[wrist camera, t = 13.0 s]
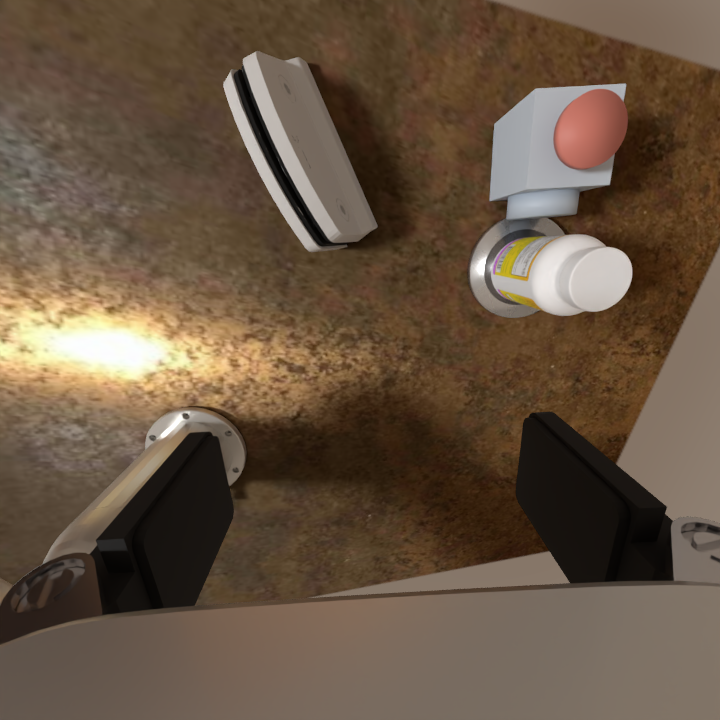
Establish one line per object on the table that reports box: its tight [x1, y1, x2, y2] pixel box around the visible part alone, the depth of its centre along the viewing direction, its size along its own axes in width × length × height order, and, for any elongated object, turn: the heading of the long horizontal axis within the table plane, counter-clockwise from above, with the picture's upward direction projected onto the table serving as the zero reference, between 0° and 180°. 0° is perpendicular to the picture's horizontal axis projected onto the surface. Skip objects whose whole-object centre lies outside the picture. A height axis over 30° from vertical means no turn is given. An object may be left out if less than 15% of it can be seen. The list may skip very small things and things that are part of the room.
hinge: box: [223, 51, 378, 252], centre depth 31 cm, size 17×5×10 cm, turn 26°
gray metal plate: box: [468, 218, 565, 318], centre depth 38 cm, size 11×11×1 cm
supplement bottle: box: [491, 234, 632, 316], centre depth 31 cm, size 7×7×13 cm
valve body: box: [490, 84, 628, 220], centre depth 30 cm, size 9×7×10 cm
